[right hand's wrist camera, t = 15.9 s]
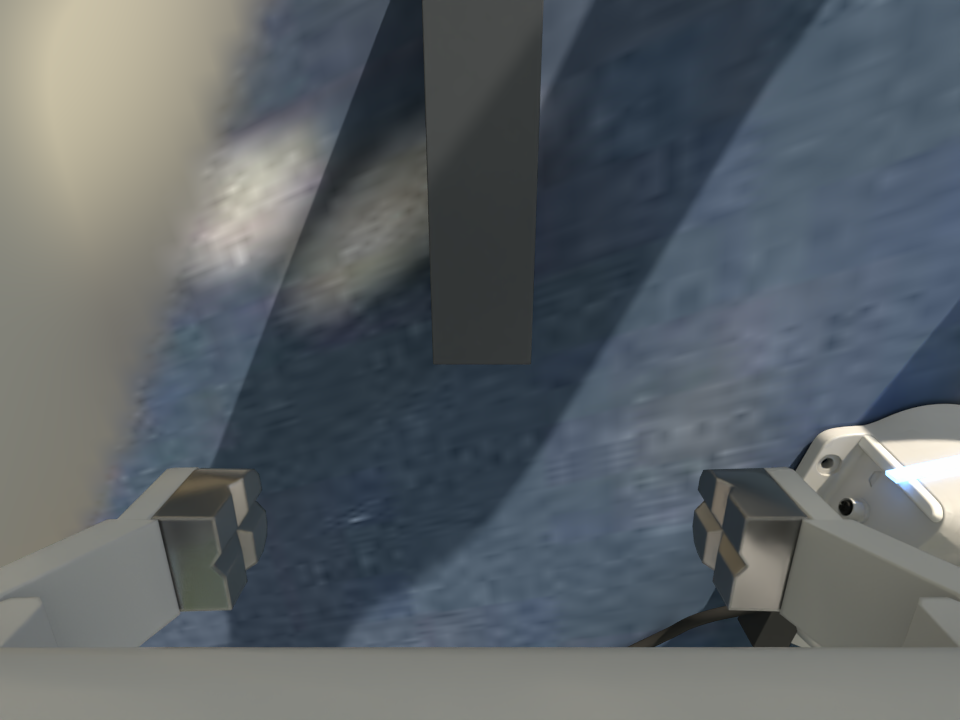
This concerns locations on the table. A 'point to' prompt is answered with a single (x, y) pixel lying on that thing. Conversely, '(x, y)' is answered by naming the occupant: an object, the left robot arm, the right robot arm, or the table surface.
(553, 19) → the table surface
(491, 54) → the bar
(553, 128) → the table surface
